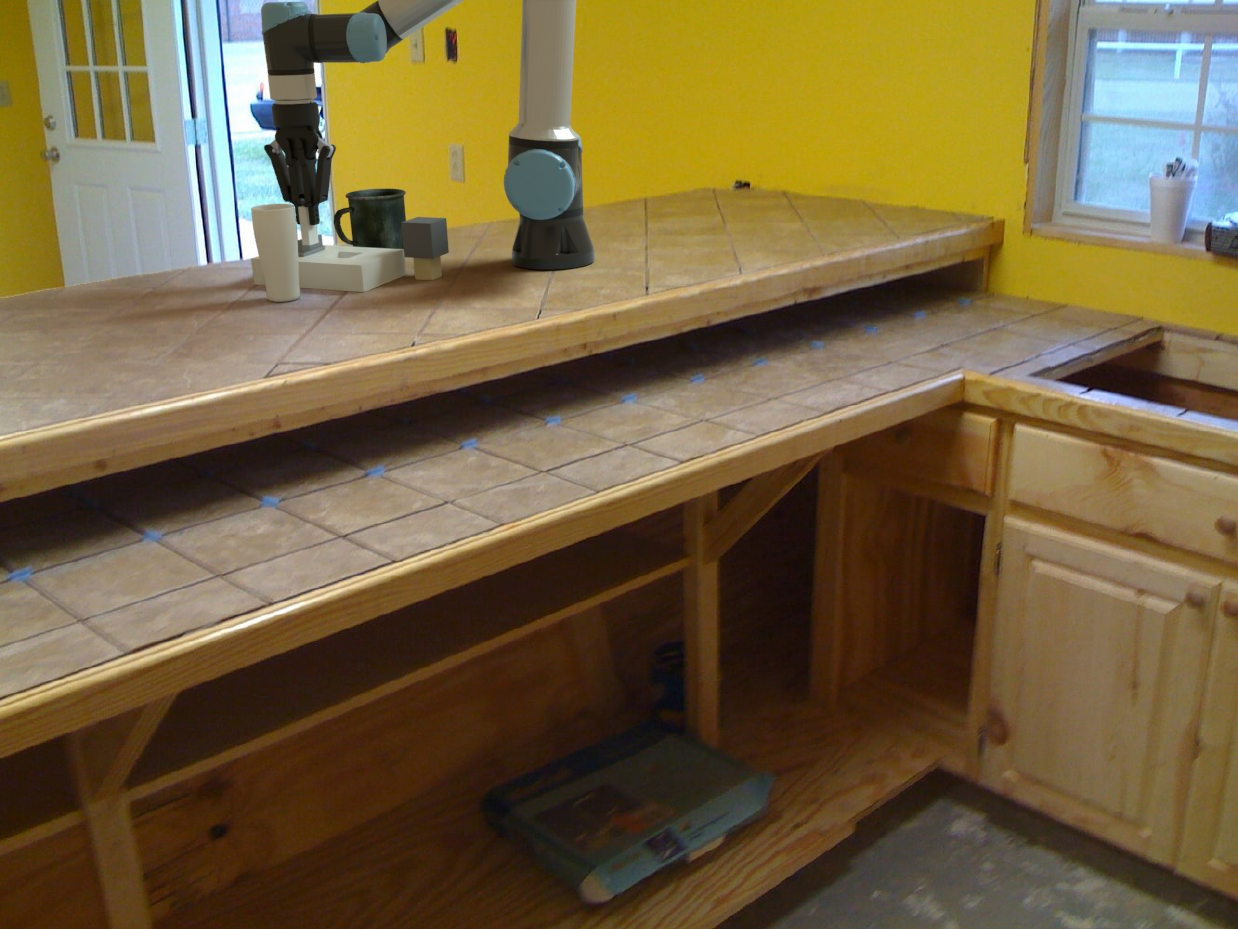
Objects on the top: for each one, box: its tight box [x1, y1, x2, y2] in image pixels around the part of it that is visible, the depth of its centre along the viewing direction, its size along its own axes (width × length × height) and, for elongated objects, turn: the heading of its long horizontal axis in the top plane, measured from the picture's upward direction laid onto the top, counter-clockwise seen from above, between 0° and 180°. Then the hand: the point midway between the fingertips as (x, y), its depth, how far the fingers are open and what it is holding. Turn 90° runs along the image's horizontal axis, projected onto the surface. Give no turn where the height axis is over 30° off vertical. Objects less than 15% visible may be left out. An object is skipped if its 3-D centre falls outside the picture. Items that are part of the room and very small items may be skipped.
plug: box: [401, 216, 450, 281], centre depth 206 cm, size 6×6×10 cm
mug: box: [333, 188, 407, 249], centre depth 224 cm, size 11×15×12 cm
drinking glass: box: [251, 203, 301, 303], centre depth 192 cm, size 7×7×15 cm
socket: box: [250, 244, 407, 293], centre depth 207 cm, size 22×14×4 cm, turn 69°
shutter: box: [298, 233, 325, 256], centre depth 208 cm, size 6×6×3 cm
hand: (310, 243), depth 205 cm, fingers closed
